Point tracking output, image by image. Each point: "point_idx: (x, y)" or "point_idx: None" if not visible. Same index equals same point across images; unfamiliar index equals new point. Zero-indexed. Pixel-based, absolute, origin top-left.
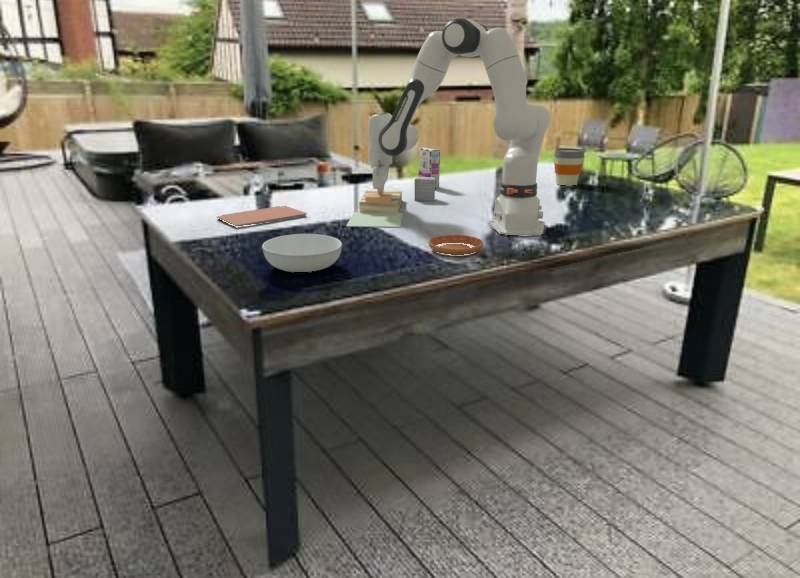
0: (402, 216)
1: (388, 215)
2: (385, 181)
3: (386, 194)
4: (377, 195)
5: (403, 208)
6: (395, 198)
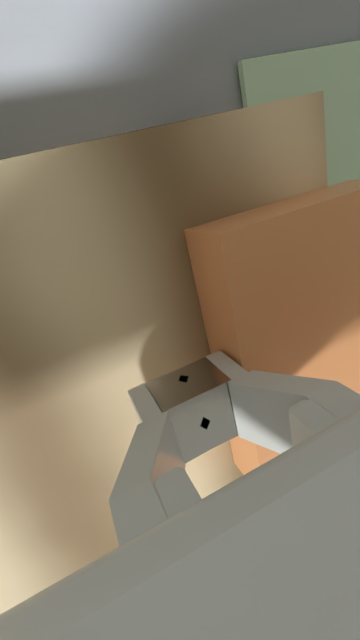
0: (354, 41)
1: (340, 177)
2: (318, 494)
3: (265, 299)
4: (329, 370)
5: (10, 121)
6: (105, 203)
